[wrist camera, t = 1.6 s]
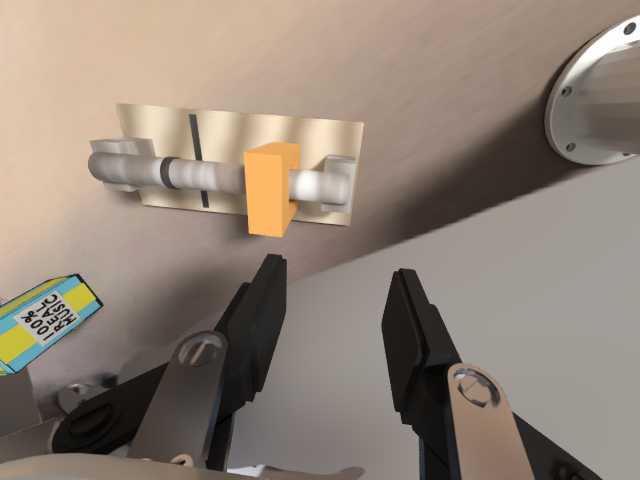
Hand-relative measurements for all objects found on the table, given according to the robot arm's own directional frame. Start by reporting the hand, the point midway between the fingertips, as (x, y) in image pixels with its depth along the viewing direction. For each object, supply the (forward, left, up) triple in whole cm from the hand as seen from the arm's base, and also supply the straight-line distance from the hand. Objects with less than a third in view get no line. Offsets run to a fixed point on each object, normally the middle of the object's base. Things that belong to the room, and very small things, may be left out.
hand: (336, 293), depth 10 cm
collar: (+7, 0, -20) cm, 21 cm away
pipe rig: (+13, 0, -22) cm, 26 cm away
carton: (+45, +25, -23) cm, 56 cm away
